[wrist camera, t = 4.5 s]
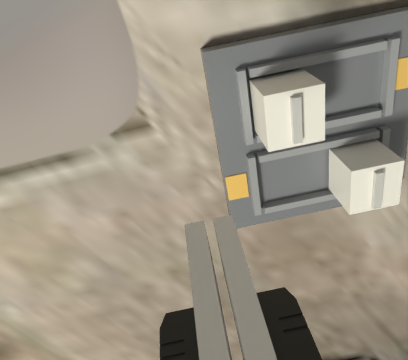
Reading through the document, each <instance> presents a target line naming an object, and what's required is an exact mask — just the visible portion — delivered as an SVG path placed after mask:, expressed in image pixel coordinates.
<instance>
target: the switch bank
mask: <svg viewBox="0 0 408 360" xmlns="http://www.w3.org/2000/svg"><path fill="white" fill-rule="evenodd" d="M201 55H202V61H203V66H204V72H205V78H206V84H207V90H208V96H209V101H210V107H211V113H212V119H213V125H214V130H215V136H216V142H217V148H218V154H219V160H220V165H221V171H222V177H223V183H224V189H225V194H226V200H227V206H228V212H229V215H232V216H233V220H234V223H235V226H236V229H237V228H241V227H246V226H251V225H256V224H260V223H265V222H270V221H274V220H279V219H284V218H289V217H293V216H298V215H303V214H308V213H312V212H317V211H322V210H326V209H331V208H336V207H341V206H342V205H341V203H340V202H339V201H338V200H337V198H336V197H335V196H334V195H333V193H332V192H331V191H330V190H329V149H330V148H335V147H339V146H344V145H349V144H354V143H358V142H363V141H368V140H373V139H377V140H378V141H379V142H381V143H382V144H383V145H385V146H386V147H387V148H389V149H390V150H391V151H393V152H394V153H395V154H397V155H398V156H399V157H401V158H402V159H403V160H405V155H406V147H407V139H408V6H405V7H401V8H396V9H391V10H386V11H381V12H376V13H372V14H367V15H362V16H357V17H352V18H347V19H342V20H338V21H333V22H328V23H323V24H318V25H313V26H309V27H304V28H299V29H294V30H289V31H284V32H279V33H275V34H270V35H265V36H260V37H255V38H250V39H246V40H241V41H236V42H231V43H226V44H221V45H216V46H212V47H207V48H202V49H201ZM301 69H303V70H305V71H307V72H308V73H310V74H311V75H313V76H314V77H316V78H317V79H319V80H321V81H322V82H324V83H325V140H324V141H319V142H315V143H310V144H305V145H300V146H295V147H291V148H286V149H281V150H276V151H272V152H268V151H267V149H266V147H265V146H264V144H263V143H262V141H261V139H260V138H259V136H258V135H257V133H256V131H255V127H254V118H253V109H252V100H251V91H250V82H249V80H253V79H258V78H262V77H267V76H272V75H277V74H282V73H287V72H291V71H296V70H301ZM404 162H405V161H404ZM403 170H404V169H403ZM402 177H403V176H402ZM401 185H402V184H401ZM400 193H401V192H400Z"/></svg>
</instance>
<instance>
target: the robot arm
mask: <svg viewBox="0 0 408 360" xmlns="http://www.w3.org/2000/svg"><path fill="white" fill-rule="evenodd" d="M213 222H214V227H215V232H216V237H217V241H218V246H219V251H220V256H221V261H222V266H223V271H224V275H225V280H226V284H227V289H228V293H229V298H230V302H231V307H232V311H233V316H234V320H235V325H236V329H237V334H238V338H239V343H240V347H241V352H242V356H243V360H322V358H321V356H320V354H319V351H318V349H317V347H316V344H315V342H314V340H313V337H312V335H311V333H310V330H309V328H308V326H307V323H306V321H305V319H304V316H303V315H302V312H301V309H300V307H299V304H298V302H297V300H296V298H295V297H294V296H293V295H292V294H291V293H290V292H289V291H288V290H287V289H286V288H284V287H283V288H279V289H274V290H269V291H265V292H260V293H256V290H255V287H254V284H253V281H252V277H251V274H250V271H249V268H248V264H247V261H246V258H245V255H244V252H243V248H242V245H241V242H240V239H239V236H238V232H237V229H236V226H235V223H234V220H233V216H232V215H229V216H224V217H219V218H214V219H213ZM185 233H186V242H187V251H188V260H189V269H190V279H191V288H192V297H193V306H194V308H189V309H184V310H180V311H175V312H170V313H166V315H165V317H164V319H163V322H162V324H161V327H160V360H232V357H231V352H230V347H229V342H228V336H227V331H226V326H225V321H224V316H223V311H222V305H221V300H220V295H219V290H218V285H217V280H216V274H215V269H214V265H213V260H212V256H211V251H210V247H209V242H208V238H207V233H206V229H205V224H204V221H200V222H195V223H191V224H186V225H185Z"/></svg>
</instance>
